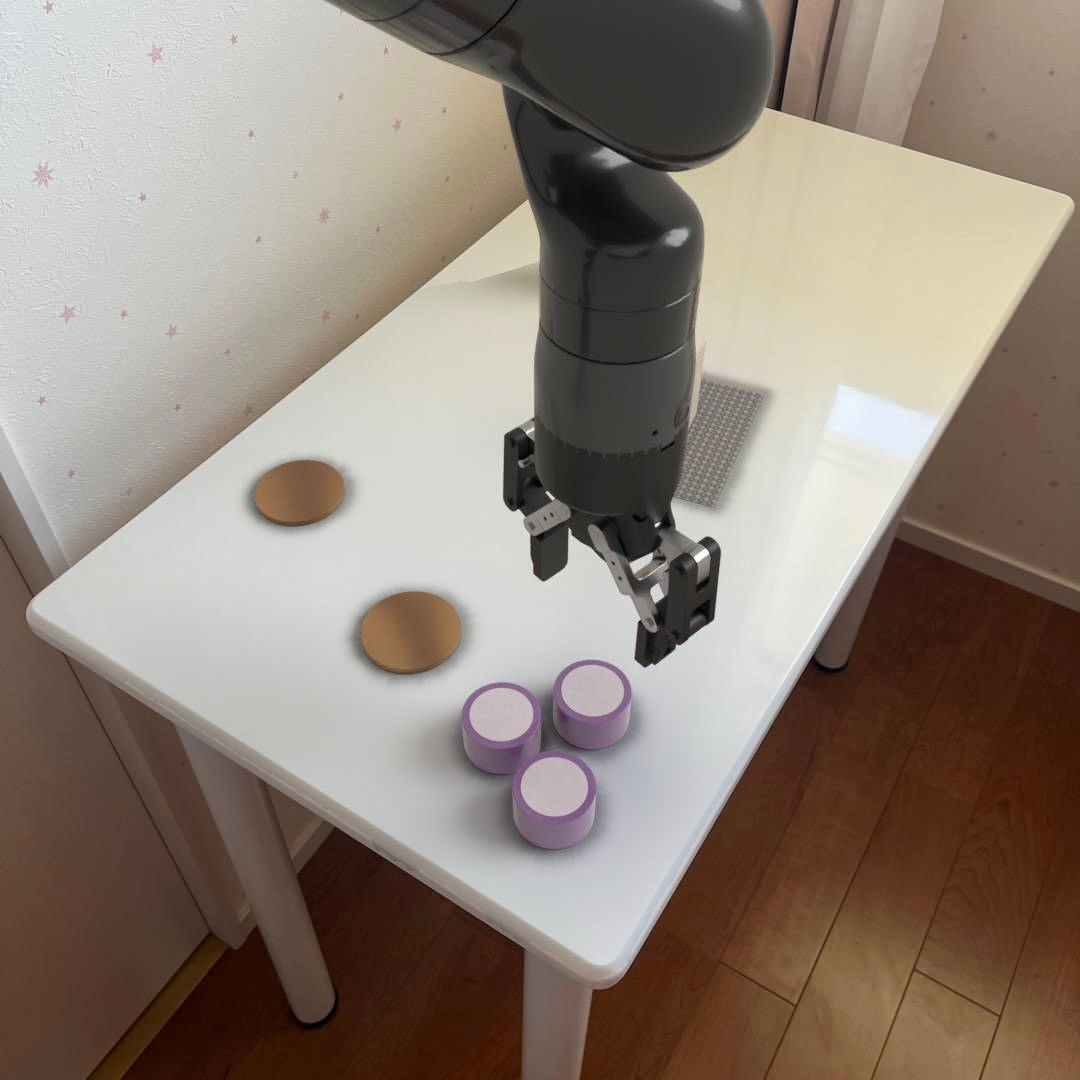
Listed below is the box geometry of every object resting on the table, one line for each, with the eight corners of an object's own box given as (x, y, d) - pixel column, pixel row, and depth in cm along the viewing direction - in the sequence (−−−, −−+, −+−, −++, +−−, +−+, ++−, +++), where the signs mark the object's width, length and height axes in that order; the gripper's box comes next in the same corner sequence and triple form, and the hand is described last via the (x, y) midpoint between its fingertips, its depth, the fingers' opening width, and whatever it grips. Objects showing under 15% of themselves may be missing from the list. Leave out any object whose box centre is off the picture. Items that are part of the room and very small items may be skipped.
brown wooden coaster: (401, 691, 74) (400, 687, 74) (341, 630, 77) (340, 626, 77) (481, 636, 77) (481, 631, 77) (420, 580, 81) (419, 575, 80)
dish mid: (498, 789, 69) (496, 762, 67) (448, 738, 71) (445, 711, 69) (557, 743, 71) (557, 716, 69) (506, 695, 74) (505, 668, 71)
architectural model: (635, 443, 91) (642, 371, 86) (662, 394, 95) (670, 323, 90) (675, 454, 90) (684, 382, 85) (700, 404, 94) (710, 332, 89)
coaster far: (287, 539, 84) (285, 535, 83) (238, 492, 87) (236, 487, 87) (362, 496, 87) (361, 492, 86) (312, 452, 90) (311, 447, 90)
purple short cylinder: (589, 764, 70) (591, 737, 68) (537, 715, 73) (537, 687, 70) (644, 719, 72) (648, 692, 70) (592, 673, 75) (593, 646, 73)
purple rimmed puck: (551, 865, 65) (551, 840, 63) (496, 809, 68) (494, 783, 66) (611, 814, 68) (613, 788, 65) (556, 762, 70) (556, 735, 68)
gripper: (457, 360, 55) (472, 577, 66) (666, 512, 47) (641, 725, 59) (569, 301, 58) (564, 518, 70) (779, 435, 51) (734, 651, 63)
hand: (599, 613), depth 64 cm, fingers open, 8 cm apart
